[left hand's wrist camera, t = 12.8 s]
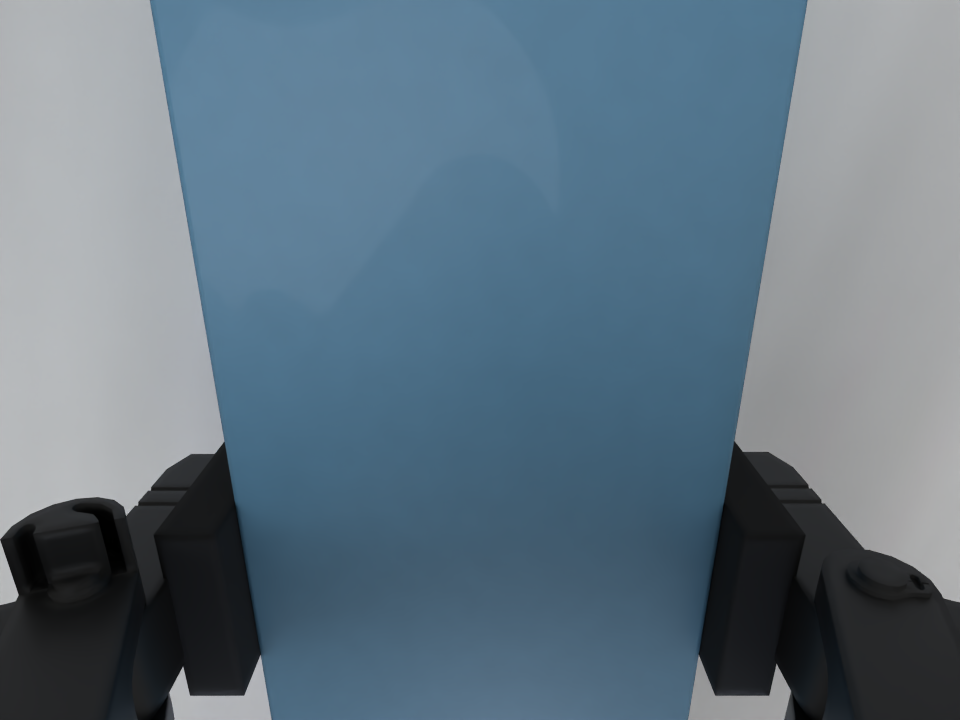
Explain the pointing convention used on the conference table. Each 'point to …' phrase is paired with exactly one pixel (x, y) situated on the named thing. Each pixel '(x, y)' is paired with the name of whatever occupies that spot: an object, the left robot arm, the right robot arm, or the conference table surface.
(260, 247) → the blue box
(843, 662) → the left robot arm
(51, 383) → the conference table surface
